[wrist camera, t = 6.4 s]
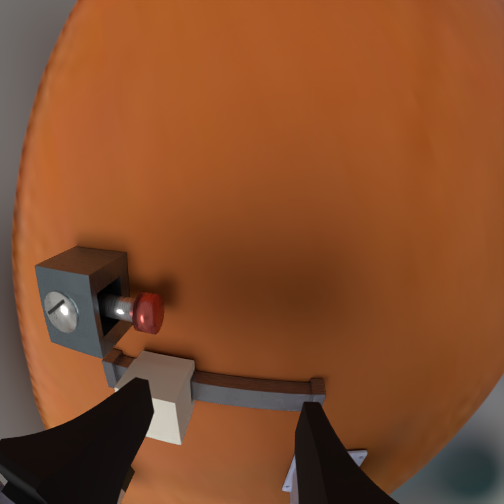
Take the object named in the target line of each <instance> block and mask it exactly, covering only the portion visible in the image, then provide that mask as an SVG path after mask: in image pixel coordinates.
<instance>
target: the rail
mask: <svg viewBox="0 0 504 504" xmlns="http://www.w3.org/2000/svg"><path fill="white" fill-rule="evenodd" d="M134 359H136V358H132V357H128V356H124V355H123V353H122V351H121V350H117V349H113V348H112V349H111V351H110V352H109V353H108V354H107V355H106V356H105V358H104V359H103V360H102V363H103V367H104V371H105V375H106V379H107V382H108V386H109V387H111V388H114V387H115V386H116V384H117V383H118V382H119V380H120V379H121V377H122V376H123V374H124V373H125V372H126V370H127V369H128V367H129V366H130V364H131V363H132V362H133V360H134ZM190 389H191V399H194V400H199V401H205V402H211V403H218V404H225V405H232V406H240V407H249V408H259V409H271V410H285V411H301V410H302V406H303V403H304V401H305V402H319V403H320V404H321V406H322V405H323V402H324V399H325V396H326V393H325V387H324V381H323V379H322V378H311V380H310V383H308V382H290V381H276V380H264V379H254V378H245V377H237V376H229V375H221V374H214V373H208V372H201V371H195V370H194V372H193V374H192V377H191V379H190Z"/></svg>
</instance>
